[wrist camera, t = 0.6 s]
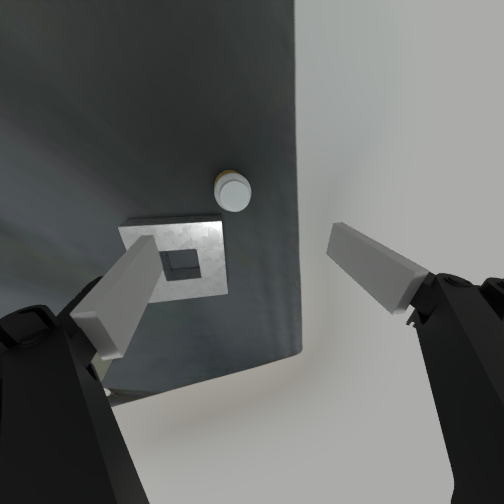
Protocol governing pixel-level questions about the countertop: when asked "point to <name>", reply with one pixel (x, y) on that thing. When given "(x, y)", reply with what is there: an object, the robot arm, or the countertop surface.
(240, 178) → the supplement bottle
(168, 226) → the block with square hole
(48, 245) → the countertop surface
